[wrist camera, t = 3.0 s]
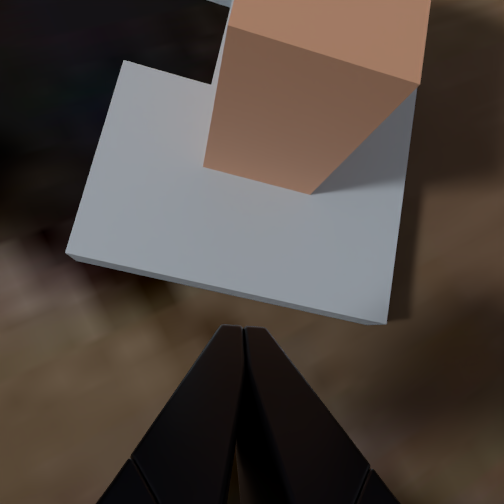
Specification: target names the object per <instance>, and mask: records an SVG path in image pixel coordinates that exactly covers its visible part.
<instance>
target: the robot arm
mask: <svg viewBox="0 0 504 504" xmlns="http://www.w3.org/2000/svg"><path fill="white" fill-rule="evenodd" d="M235 446H236V455H237V468H238V479H239V490H240V501H241V504H400V502H399V501H398V500H397V499H396V497H395V496H394V495H393V494H392V492H391V491H390V490H389V489H388V487H387V486H386V485H385V483H384V482H383V481H382V479H381V478H380V477H379V475H378V474H377V473H376V471H375V470H374V469H370V464H369V463H368V461H367V460H366V459H365V457H364V456H363V455H362V453H361V452H360V451H359V449H358V448H357V447H356V446H355V444H354V443H353V442H352V440H351V439H350V438H349V436H348V435H347V434H346V432H345V431H344V430H343V428H342V427H341V426H340V425H339V423H338V422H337V421H336V419H335V418H334V417H333V415H332V414H331V413H330V411H329V410H328V409H327V407H326V406H325V405H324V404H323V402H322V401H321V400H320V398H319V397H318V396H317V394H316V393H315V392H314V390H313V389H312V388H311V386H310V385H309V384H308V383H307V381H306V380H305V379H304V377H303V376H302V375H301V373H300V372H299V371H298V369H297V368H296V367H295V365H294V364H293V363H292V361H291V360H290V359H289V358H288V356H287V355H286V354H285V352H284V351H283V350H282V348H281V347H280V346H279V344H278V343H277V342H276V340H275V339H274V338H273V337H272V335H271V334H270V333H269V331H268V330H267V329H266V328H264V327H255V326H246V327H244V329H243V328H242V327H241V326H239V325H226V324H223V325H221V326H220V327H219V328H218V329H217V331H216V332H215V334H214V335H213V337H212V338H211V340H210V341H209V342H208V344H207V345H206V347H205V348H204V350H203V351H202V353H201V354H200V355H199V357H198V358H197V360H196V361H195V363H194V364H193V366H192V367H191V369H190V370H189V371H188V373H187V374H186V376H185V377H184V379H183V380H182V382H181V383H180V384H179V386H178V387H177V389H176V390H175V392H174V393H173V395H172V396H171V397H170V399H169V400H168V402H167V403H166V405H165V406H164V408H163V409H162V411H161V412H160V413H159V415H158V416H157V418H156V419H155V421H154V422H153V424H152V425H151V426H150V428H149V429H148V431H147V432H146V434H145V435H144V437H143V438H142V440H141V441H140V442H139V444H138V445H137V447H136V448H135V450H134V451H133V453H132V454H131V459H128V460H127V461H126V462H125V464H124V465H123V467H122V468H121V470H120V471H119V472H118V474H117V475H116V477H115V478H114V480H113V481H112V482H111V484H110V485H109V487H108V488H107V489H106V491H105V492H104V493H103V495H102V496H101V497H100V499H99V500H98V501H97V503H96V504H227V499H228V492H229V486H230V479H231V473H232V466H233V460H234V453H235Z"/></svg>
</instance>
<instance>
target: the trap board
mask: <svg viewBox="0 0 504 504" xmlns="http://www.w3.org/2000/svg"><path fill="white" fill-rule="evenodd" d="M208 1H211V2H214V3H217V4H221V5H224V6H227V7H230V12H229V16H228V20H227V24H226V28H225V32H224V36H223V40H222V44H221V48H220V52H219V56H218V60H217V64H216V68H215V72H214V76H213V80H212V84H211V85H209V84H205V83H202V82H198V81H195V80H191V79H188V78H184V77H181V76H177V75H174V74H171V73H167V72H164V71H160V70H157V69H153V68H150V67H146V66H143V65H139V64H136V63H132V62H129V61H125V60H124V61H123V64H122V67H121V71H120V74H119V77H118V81H117V84H116V87H115V90H114V94H113V97H112V100H111V104H110V107H109V110H108V114H107V117H106V120H105V123H104V127H103V130H102V133H101V137H100V140H99V143H98V146H97V150H96V153H95V156H94V160H93V163H92V166H91V170H90V173H89V176H88V179H87V183H86V186H85V189H84V193H83V196H82V199H81V202H80V206H79V209H78V212H77V216H76V219H75V222H74V226H73V229H72V232H71V235H70V239H69V242H68V245H67V249H66V252H65V253H66V254H68V255H69V256H70V257H72V258H73V259H75V260H76V261H80V262H84V263H89V264H93V265H98V266H102V267H107V268H111V269H116V270H120V271H125V272H129V273H134V274H138V275H143V276H148V277H152V278H157V279H161V280H166V281H170V282H175V283H179V284H184V285H188V286H193V287H197V288H202V289H206V290H211V291H215V292H220V293H224V294H229V295H233V296H238V297H242V298H247V299H251V300H256V301H261V302H265V303H270V304H274V305H279V306H283V307H288V308H292V309H297V310H301V311H306V312H310V313H315V314H319V315H324V316H328V317H333V318H337V319H342V320H346V321H351V322H355V323H360V324H365V325H383V324H387V316H388V309H389V301H390V293H391V286H392V278H393V270H394V263H395V255H396V247H397V240H398V232H399V224H400V216H401V209H402V201H403V193H404V186H405V178H406V170H407V163H408V155H409V147H410V140H411V132H412V124H413V117H414V109H415V101H416V94H417V88H416V89H415V90H414V91H413V92H412V93H411V94H410V95H409V96H408V97H407V98H406V99H405V100H404V101H403V102H402V103H401V104H400V105H399V106H398V107H397V108H396V109H395V110H394V111H393V112H392V113H391V114H390V115H389V116H388V117H387V118H386V119H385V120H384V121H383V122H382V123H381V124H380V125H379V126H378V127H377V128H376V129H375V130H374V131H373V132H372V133H371V134H370V135H369V136H368V137H367V138H366V139H365V140H364V141H363V142H362V143H361V144H360V145H359V146H358V147H357V148H356V149H355V150H354V151H353V152H352V153H351V154H350V155H349V156H348V157H347V158H346V159H345V160H344V161H343V162H342V163H341V164H340V165H339V166H338V167H337V168H336V169H335V170H334V171H333V172H332V173H331V174H330V175H329V176H328V177H327V178H326V179H325V180H324V181H323V182H322V183H321V184H320V185H319V186H318V187H317V188H316V189H315V190H314V191H313V192H312V193H311V194H310V195H309V194H305V193H301V192H297V191H293V190H290V189H286V188H282V187H278V186H274V185H270V184H267V183H263V182H259V181H255V180H251V179H247V178H244V177H240V176H236V175H232V174H228V173H224V172H221V171H217V170H213V169H209V168H205V167H203V163H204V158H205V152H206V146H207V141H208V135H209V129H210V124H211V118H212V112H213V107H214V101H215V95H216V90H217V84H218V78H219V72H220V67H221V61H222V55H223V50H224V44H225V38H226V33H227V27H228V22H229V18H230V14H231V10H232V6H233V2H234V0H208Z"/></svg>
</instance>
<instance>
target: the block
mask: <svg viewBox="0 0 504 504" xmlns="http://www.w3.org/2000/svg"><path fill="white" fill-rule="evenodd" d="M430 4H431V0H234V2H233V6H232V10H231V14H230V18H229V22H228V27H227V33H226V38H225V44H224V50H223V55H222V61H221V67H220V72H219V78H218V84H217V90H216V95H215V101H214V107H213V112H212V118H211V124H210V129H209V135H208V141H207V146H206V152H205V158H204V163H203V167H205V168H209V169H213V170H217V171H221V172H224V173H228V174H232V175H236V176H240V177H244V178H247V179H251V180H255V181H259V182H263V183H267V184H270V185H274V186H278V187H282V188H286V189H290V190H293V191H297V192H301V193H305V194H309V195H310V194H311V193H312V192H313V191H314V190H315V189H316V188H317V187H318V186H319V185H320V184H321V183H322V182H323V181H324V180H325V179H326V178H327V177H328V176H329V175H330V174H331V173H332V172H333V171H334V170H335V169H336V168H337V167H338V166H339V165H340V164H341V163H342V162H343V161H344V160H345V159H346V158H347V157H348V156H349V155H350V154H351V153H352V152H353V151H354V150H355V149H356V148H357V147H358V146H359V145H360V144H361V143H362V142H363V141H364V140H365V139H366V138H367V137H368V136H369V135H370V134H371V133H372V132H373V131H374V130H375V129H376V128H377V127H378V126H379V125H380V124H381V123H382V122H383V121H384V120H385V119H386V118H387V117H388V116H389V115H390V114H391V113H392V112H393V111H394V110H395V109H396V108H397V107H398V106H399V105H400V104H401V103H402V102H403V101H404V100H405V99H406V98H407V97H408V96H409V95H410V94H411V93H412V92H413V91H414V90H415V89H416V88H417V87H418V86H419V85H420V82H421V74H422V66H423V58H424V51H425V43H426V35H427V27H428V19H429V12H430Z"/></svg>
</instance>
